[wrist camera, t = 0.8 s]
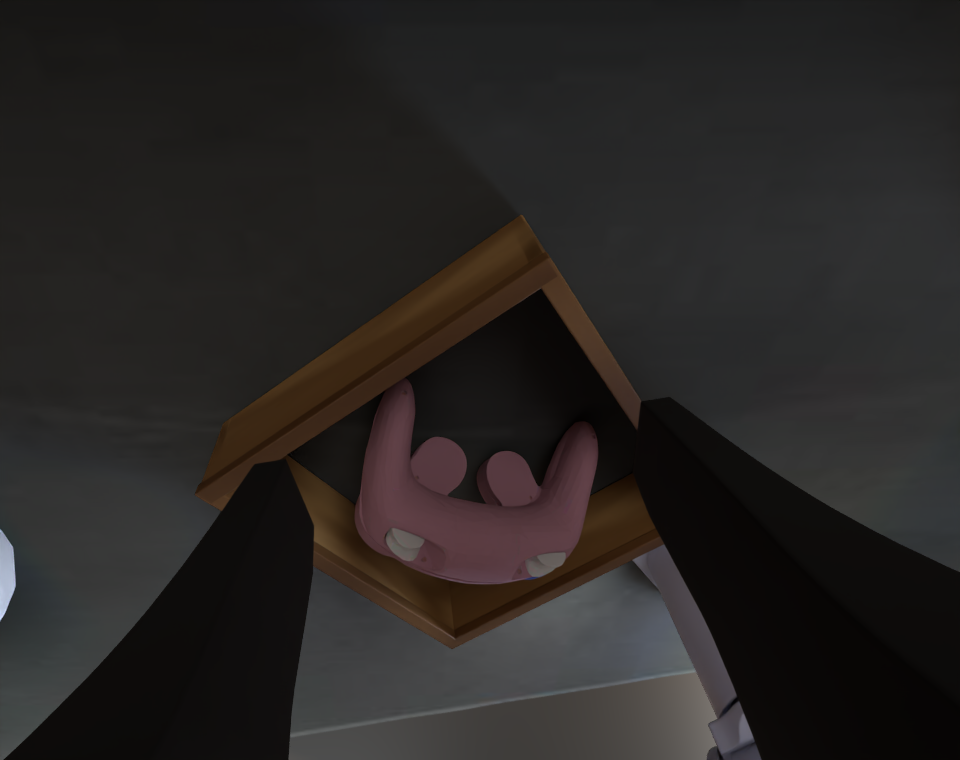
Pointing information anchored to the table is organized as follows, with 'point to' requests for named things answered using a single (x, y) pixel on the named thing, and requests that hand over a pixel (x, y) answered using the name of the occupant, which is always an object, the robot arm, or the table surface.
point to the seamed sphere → (6, 573)
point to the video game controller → (470, 502)
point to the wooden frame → (382, 363)
